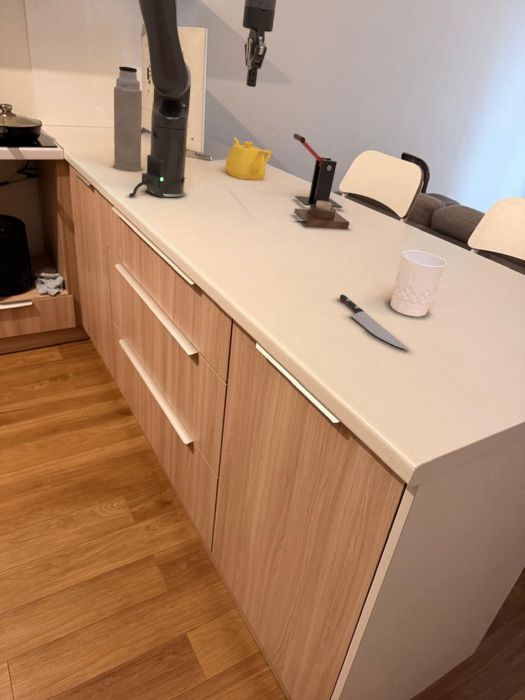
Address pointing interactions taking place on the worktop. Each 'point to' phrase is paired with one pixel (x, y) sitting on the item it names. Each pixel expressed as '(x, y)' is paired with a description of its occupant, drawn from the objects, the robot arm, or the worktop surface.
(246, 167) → the teapot
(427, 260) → the white cup
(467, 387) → the worktop surface
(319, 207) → the button
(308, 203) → the bracket
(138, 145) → the thermos bottle
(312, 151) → the lever
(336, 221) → the button block
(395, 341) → the chef's knife
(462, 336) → the worktop surface
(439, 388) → the worktop surface
